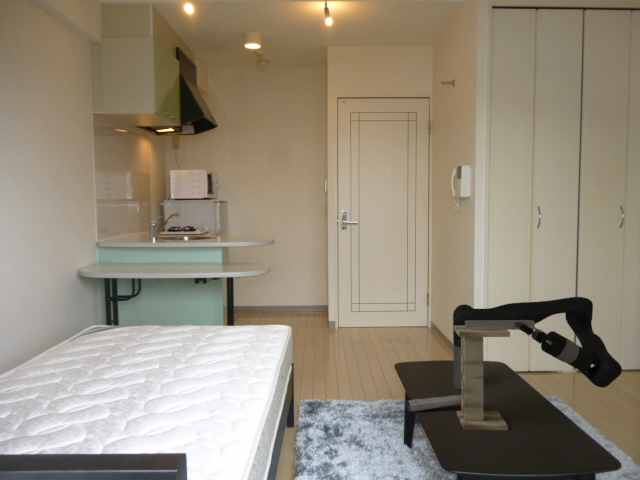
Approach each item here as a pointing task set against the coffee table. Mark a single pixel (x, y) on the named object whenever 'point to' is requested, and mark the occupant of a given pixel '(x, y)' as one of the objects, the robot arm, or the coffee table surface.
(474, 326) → the grey long bar
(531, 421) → the coffee table surface
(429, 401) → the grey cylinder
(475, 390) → the birch stand
